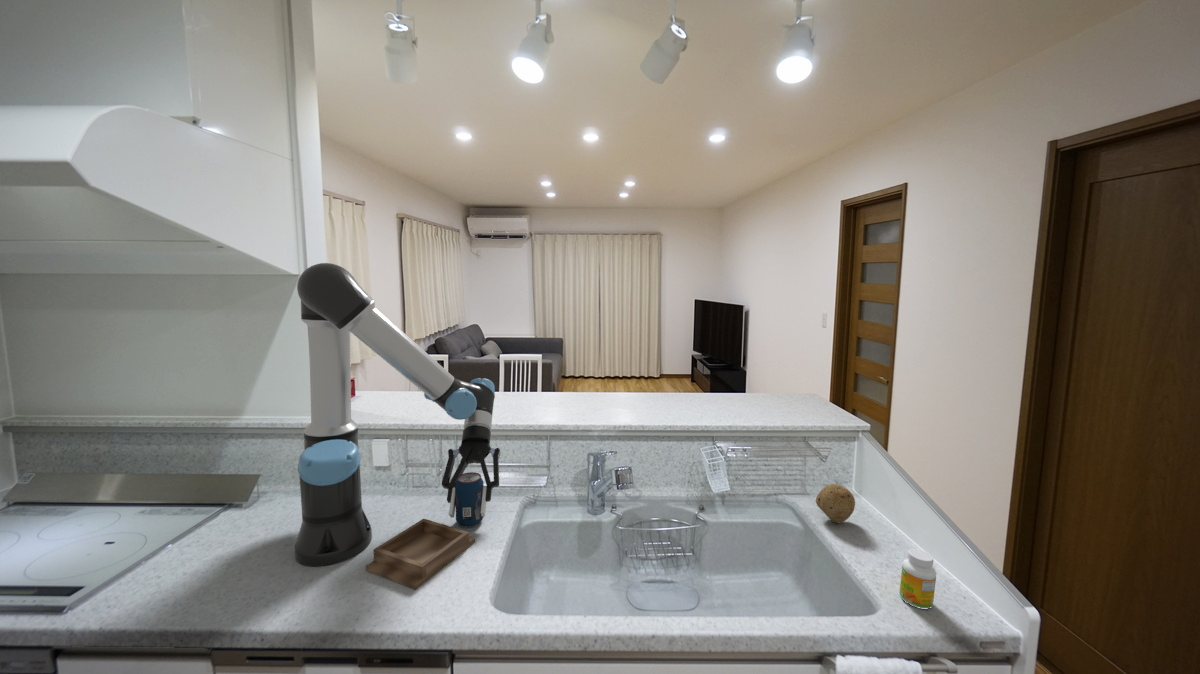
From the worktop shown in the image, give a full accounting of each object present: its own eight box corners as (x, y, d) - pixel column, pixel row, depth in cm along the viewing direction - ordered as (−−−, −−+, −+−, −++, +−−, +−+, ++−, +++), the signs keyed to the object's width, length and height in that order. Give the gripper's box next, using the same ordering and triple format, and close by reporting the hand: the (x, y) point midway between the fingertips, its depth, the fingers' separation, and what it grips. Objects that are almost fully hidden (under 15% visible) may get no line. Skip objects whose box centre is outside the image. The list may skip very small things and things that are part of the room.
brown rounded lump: (809, 519, 115) (812, 484, 114) (822, 508, 121) (825, 474, 120) (846, 534, 108) (850, 496, 107) (858, 522, 114) (862, 485, 113)
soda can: (459, 514, 115) (458, 471, 113) (486, 514, 115) (485, 471, 114) (452, 529, 108) (451, 483, 107) (481, 528, 108) (480, 483, 107)
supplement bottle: (892, 591, 88) (897, 546, 87) (917, 590, 89) (922, 546, 87) (913, 611, 83) (918, 563, 82) (940, 610, 83) (945, 562, 82)
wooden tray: (365, 570, 92) (365, 554, 92) (430, 527, 109) (429, 514, 108) (415, 589, 87) (414, 573, 86) (475, 541, 103) (474, 527, 103)
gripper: (514, 435, 126) (509, 518, 112) (443, 436, 124) (429, 521, 110) (512, 423, 120) (506, 508, 106) (437, 424, 118) (422, 512, 104)
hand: (467, 515), depth 108 cm, fingers closed on soda can, 7 cm apart
